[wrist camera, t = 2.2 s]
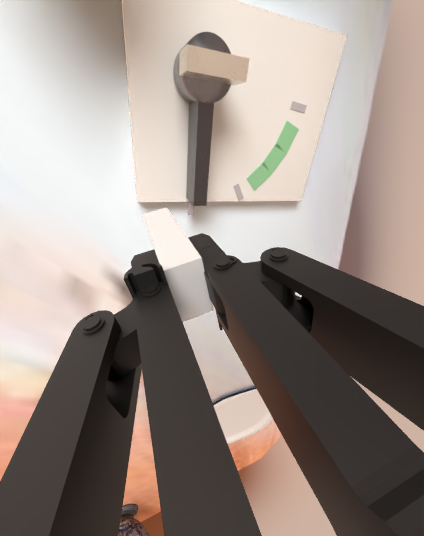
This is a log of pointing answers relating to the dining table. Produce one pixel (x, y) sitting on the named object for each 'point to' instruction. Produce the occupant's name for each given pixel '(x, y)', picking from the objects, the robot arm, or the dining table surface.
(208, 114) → the dark grey lever
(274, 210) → the dining table surface
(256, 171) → the gauge board
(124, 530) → the decorative vase
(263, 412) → the plate
